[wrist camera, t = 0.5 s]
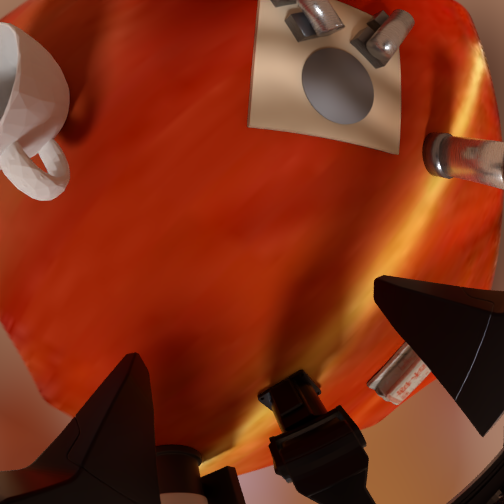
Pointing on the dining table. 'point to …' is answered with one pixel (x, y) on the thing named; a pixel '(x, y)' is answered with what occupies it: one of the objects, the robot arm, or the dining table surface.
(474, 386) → the robot arm
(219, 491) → the light fixture
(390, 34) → the shaft
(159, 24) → the dining table surface
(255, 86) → the board
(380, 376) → the packaged product
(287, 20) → the shaft
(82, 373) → the dining table surface
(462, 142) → the drinking glass
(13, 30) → the mug
